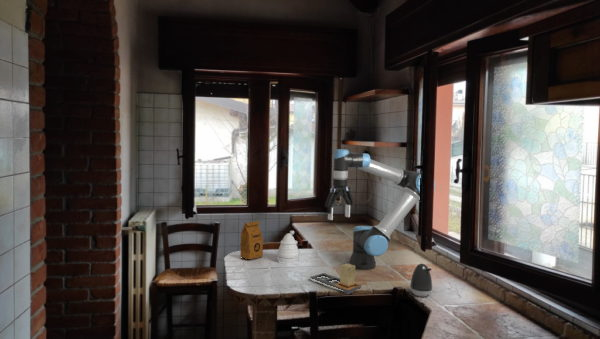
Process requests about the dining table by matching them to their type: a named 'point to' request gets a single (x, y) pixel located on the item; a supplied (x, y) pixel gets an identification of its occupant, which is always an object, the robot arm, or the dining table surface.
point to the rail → (346, 290)
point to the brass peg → (347, 275)
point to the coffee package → (251, 241)
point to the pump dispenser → (421, 281)
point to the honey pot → (288, 249)
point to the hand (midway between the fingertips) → (338, 218)
